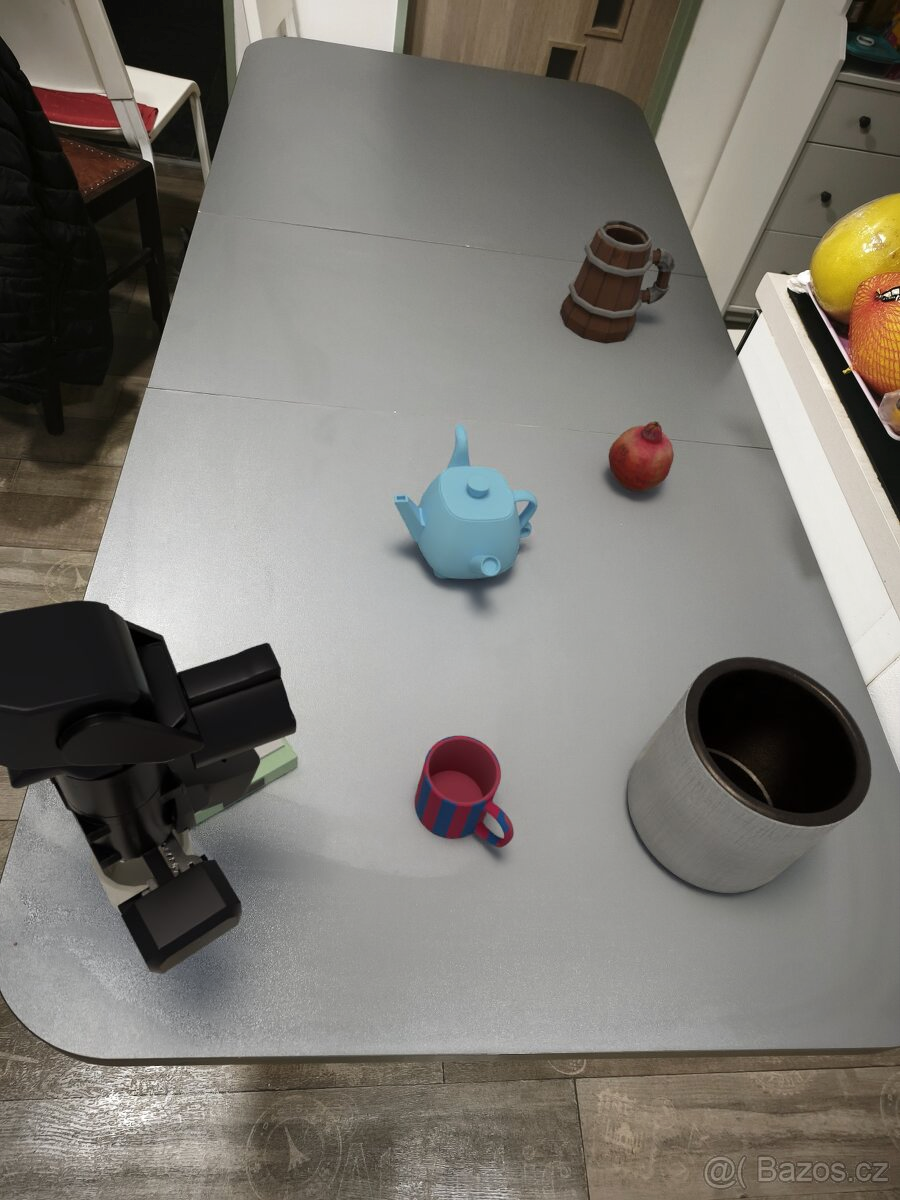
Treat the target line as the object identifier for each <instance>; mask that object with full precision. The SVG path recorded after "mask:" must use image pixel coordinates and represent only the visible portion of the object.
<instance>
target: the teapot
mask: <svg viewBox="0 0 900 1200" xmlns="http://www.w3.org/2000/svg"><path fill="white" fill-rule="evenodd" d="M454 429H455V430H454V431H455V433H454V434H455V441H454V442H455V443H454V448H453V452H452V453H451V457H450V460H449V462H448V464H447V467H446V468H445V469H443V471H441V472H440V473H439V474H438V475H437V476H436V477H435V478H434V479H433V480H431V482H430V484H429V485H428V486H427V487H426V489H425V491H424V492H423V493H422V496H421V498H420V501H419V503H418V505H417V504H416V503H415V502H414V501H413V500H412V499H411V498H410V497H409V496H408V494H407V493H405V494H394V495H393V500H394V506H395V507H396V509H397V511H398V512H399V514H400V517H401V519H402V520H403V523H404V524H405V526H406V528H407V530H408V532H409V534H410V536H411V538H412V540H413V542H416V543H417V545H418V548H419V550H420V552H421V554H422V555H423V557H424V559H425V560H426V562H427V564H428V565H429V566H430V567H431V568H432V569H433V570H432V572H433V574H434V576H436V577H437V578H439V579H443V580H446V579H450V578H451V579H457V580H458V579H461V580H468V579H469V580H472V579H473V580H475V579H483V578H493V577H496V576H498V575H500V574H503V573H505V572H506V571H508V570H509V569H510V568H512V566H513V565H514V564H515V562H516V560H517V557H518V553H519V548H520V540H521V539H525V538H527V537H529V536H530V534H531V533H532V524H531V522H530V521H531V519H532V518H533V516H534V515H535V514H536V511H537V509H538V500H537V497H536V496H535V494H534V493H532V492H531V491H529V490H526V489H515V490H512V489H511V487H510V485H509V483H508V482H507V479H506V478H505V477H504V475H502V473H500V471H498V470H497V469H494V468H492V467H487V466H478V465H477V466H476V465H475V466H474V465H473V466H472V465H471V462H470V453H469V443H468V442H469V441H468V433H467V431H466V428H465V426H464V425H463V424H461V423H457V424H456V426H455V428H454ZM519 502H520V503H521V502H528V503H527V505H526V507H524V509H523V510H522V512H521V513H520V514H519V511H518V507H517V504H516V503H519Z"/></svg>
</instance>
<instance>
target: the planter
mask: <svg viewBox="0 0 900 1200" xmlns="http://www.w3.org/2000/svg"><path fill="white" fill-rule="evenodd" d="M871 782H872V760H871V754H870V751H869V747H868V744H867V741H866V738H865V736H864V734H863V732H862V730H861V728H860V727H859V724H858V723H857V721H856V720H855V718H854V717H853V716H852V714H851V712H850V711H849V710H848V709H847V708H846V706H845V705H844V704H843V703H842V701H840V699H838V698H837V696H835V694H833V693H832V692H831V691H830V690H829V689H828V688H826V686H824V685H823V684H821V683H820V682H819V681H817V680H816V679H814V677H812V676H810V675H808V674H807V673H805V672H802V671H801V670H799V669H797V668H795V667H792V666H791V665H788V664H786V663H783V662H781V661H780V662H779V661H776V660H773V659H770V658H769V659H768V658H764V657H757V656H736V657H730V658H725V659H723V660H720V661H717V662H714V663H713V664H711V665H709V666H707V667H706V668H704V670H702V671H700V673H699V674H698V675H697V676H696V677H695V678H694V680H693V681H692V683H691V684H690V685H689V687H688V688H687V689H686V690H685V692H684V693H683V695H682V696H681V698H680V699H679V700H678V702H677V703H676V705H674V707H673V709H672V710H671V711H670V713H668V716H667V717H666V718H665V720H664V721H663V722H662V723H661V725H660V726H659V728H658V729H657V731H655V732H654V734H653V735H652V737H651V739H649V741H648V742H647V743H646V745H645V747H644V748H642V751H641V752H640V753H639V754H638V756H637V758H636V759H635V762H634V764H633V766H632V769H631V771H630V775H629V778H628V782H627V804H628V809H629V814H630V817H631V821H632V823H633V825H634V827H635V830H636V831H637V834H638V836H639V838H640V839H641V841H642V842H643V844H644V845H645V847H646V848H647V850H648V851H649V853H651V855H652V856H653V857H654V858H655V859H656V860H657V861H658V862H659V863H660V864H661V865H662V866H664V868H666V869H667V870H668V871H669V872H671V873H672V874H673V875H675V876H676V877H678V878H680V880H682V881H684V882H686V883H689V884H691V885H693V886H695V887H698V888H700V889H703V890H707V891H711V892H714V893H721V894H737V893H738V894H739V893H744V892H748V891H752V890H755V889H758V888H760V887H762V886H764V885H766V884H768V883H769V882H771V881H772V880H774V879H775V878H776V877H778V876H779V875H781V874H782V872H784V871H785V870H786V869H787V868H788V867H790V866H791V865H793V864H794V863H795V862H796V861H797V860H798V859H800V858H801V857H802V856H803V855H804V854H806V852H808V851H809V850H810V849H811V848H812V847H814V846H815V845H817V843H818V842H820V841H821V840H822V839H824V838H825V837H826V836H827V835H829V834H830V833H831V832H832V831H833V830H835V829H836V828H837V827H839V826H840V825H841V824H842V823H843V822H845V821H846V820H847V819H849V818H850V817H851V816H852V815H853V814H855V813H856V812H857V811H858V809H859V808H861V806H862V805H863V803H864V802H865V800H866V798H867V796H868V794H869V791H870V787H871Z"/></svg>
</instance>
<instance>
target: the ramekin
mask: <svg viewBox="0 0 900 1200" xmlns="http://www.w3.org/2000/svg"><path fill="white" fill-rule="evenodd" d="M172 832H173V834H174V836H175V837H176V839H177V841H178V843H179V844H180V846H181V848H182V849H183V851H184V853H185V854H186V855H195V851H194V846H193V842H192V838H191V833H190V829H188V830H186V831H184V832H183V833H181V834H177V832H176V831H175V829H174V830H172ZM158 848H159V850H160V852H161V854H162V856H163V857H164V859H165V861H166V863H167V864H168V866H169V868H170V867H171V866H172V865H171V864H172V863H173V862H169V858H170V857H166V854H167V853H168V852H165V853H164V851H163V849H164V848H165V847H163V848H161V846H159V847H158ZM90 854H91V855H90V857H91V859H90V861H91V863H90V864H91V866H92V868H93V870H94V872H95V874H96V876H97V878H98V880H99V882H100V885H101V886H102V888H103V890H104V893H105V894H106V896H107V898H108V900H109V902H110V904H111V906H112V907H113V908H114V909H115V910H116V911H117V912H118V913H120V911H119V909H118V907H117V906H118V905H119V904H121V903H122V902H124V901H126V900H128V899H129V898H131V897H133V896H134V895H136V894H138V893H139V892H141V891H143V890H144V889H146V888H148V885H147V882H146V881H148V880H149V879H151V878H153V876H152V874H151V872H150V871H149V869H148V867H147V865H146V863H145V862H144V860H143V858H142V857H139V858H136V859H132V860H127V861H126V862H120V861H118V862H116V863H114V864H112V865H111V866H109V867H107V868H105V869H104V870H102V869H101V867H100V865H99V863H98V861H97V859H96V858H95V856H94V854H93V852H92V850H91V849H90ZM176 868H177V870H178V866H177V867H176Z"/></svg>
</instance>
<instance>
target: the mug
mask: <svg viewBox="0 0 900 1200" xmlns="http://www.w3.org/2000/svg"><path fill="white" fill-rule="evenodd" d="M583 247H584V248H583V250H584V252H585V254H586V255H585V258H584V260H583V262H582V265H581V267H580V269H579V271H578V274H577V275H576V276H575V277H574V278H573V279H572V280H571V281H570V282H569V284H568V286H567V287H568V291H569V293H568V295H567V296H566V297H565V298H564V299H563V301H562V304H561V307H560V311H559V313H560V316H561V319H562V321H563V323H564V326H566V327H567V328H568V329H570V330H571V331H572V332H574V333H576V334H577V335H578V336H580V337H582V338H584V339H588V340H593V341H596V342H600V343H603V344H607V343H608V344H609V343H615V342H621V341H625V340H626V339H627V338H628V336H629V335H630V334H631V333H632V331H633V330H634V327H635V324H636V322H637V311H638V310H639V309H640V307H641V306H642V304H643V303H644V304H645V303H646V304H647V305H652V304H654V303H656V302H658V301H660V300H661V299H662V298H663V297H664V296H665V295H666V294H667V292H669V290H670V288H671V286H670V284H669V283H670V280H671V279H670V278H671V274H672V271H674V269H675V266H676V264H675V259H674V258H673V256H672V254H671V253H670V252H669V251H668V250H667V249H665V248H662V247H658V248H656V249H652V247H653V244H652V237H651V236H650V234H649V232H648V230H647V229H645V228H644V227H642V226H640V225H639V224H637V223H635V222H633V221H628V220H624V219H620V218H618V219H608V220H605V221H604V222H603V223H602V224H600V226H599V228H597V230H596V231H595V234H594V236H593V237H592V238H590V239H589V241H588V242H587V243H586V244H584V246H583ZM653 265H654V266H655V267H656V268H657V270H658V272H657V275H656V280H654V282H653V284H652V286H651V287H650V286H649V287H646V288H645V289H642V285H643V281H644V278H645V274H646V273H647V272H648V270H649V269H650V268H651V267H652V266H653Z"/></svg>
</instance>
